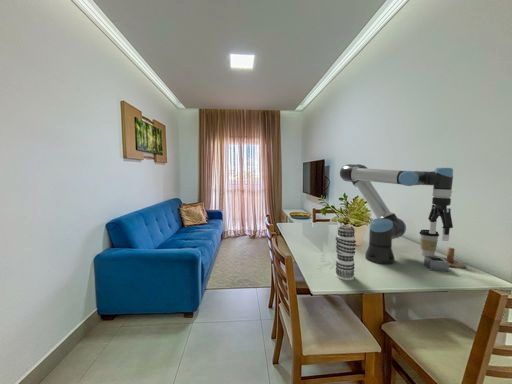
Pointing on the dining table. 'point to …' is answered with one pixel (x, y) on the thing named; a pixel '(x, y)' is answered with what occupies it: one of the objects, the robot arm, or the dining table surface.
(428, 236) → the coffee cup
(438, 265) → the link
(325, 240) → the dining table surface
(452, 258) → the keeper
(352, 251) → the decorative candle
